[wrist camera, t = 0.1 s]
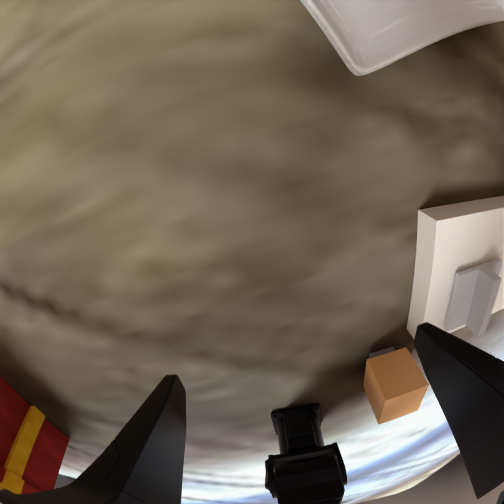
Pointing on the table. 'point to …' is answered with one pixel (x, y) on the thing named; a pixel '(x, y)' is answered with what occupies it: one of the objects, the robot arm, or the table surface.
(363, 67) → the square plate
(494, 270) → the grey ridged plate
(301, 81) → the table surface
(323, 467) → the robot arm
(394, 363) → the plug
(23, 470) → the gift box
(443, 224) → the socket plate
